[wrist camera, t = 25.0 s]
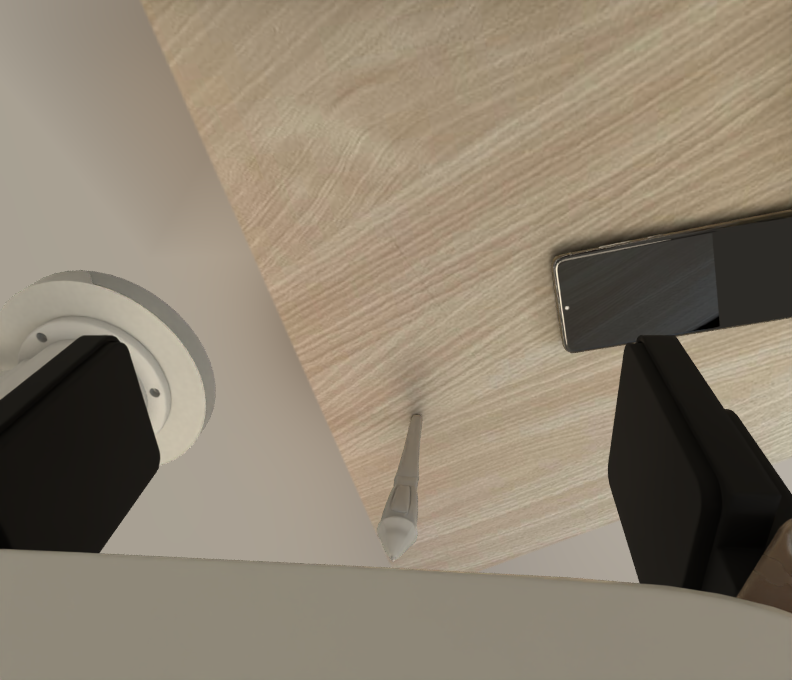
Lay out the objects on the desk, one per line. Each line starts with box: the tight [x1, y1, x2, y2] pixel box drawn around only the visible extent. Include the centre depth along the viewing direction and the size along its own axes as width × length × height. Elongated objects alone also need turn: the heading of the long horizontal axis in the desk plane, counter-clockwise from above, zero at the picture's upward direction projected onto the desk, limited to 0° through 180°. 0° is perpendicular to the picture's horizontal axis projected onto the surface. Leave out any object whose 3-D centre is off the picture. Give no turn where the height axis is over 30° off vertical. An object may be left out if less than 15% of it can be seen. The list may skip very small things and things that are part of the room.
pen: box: [377, 415, 422, 562], centre depth 40 cm, size 2×3×14 cm
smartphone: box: [551, 209, 792, 353], centre depth 38 cm, size 7×1×16 cm
